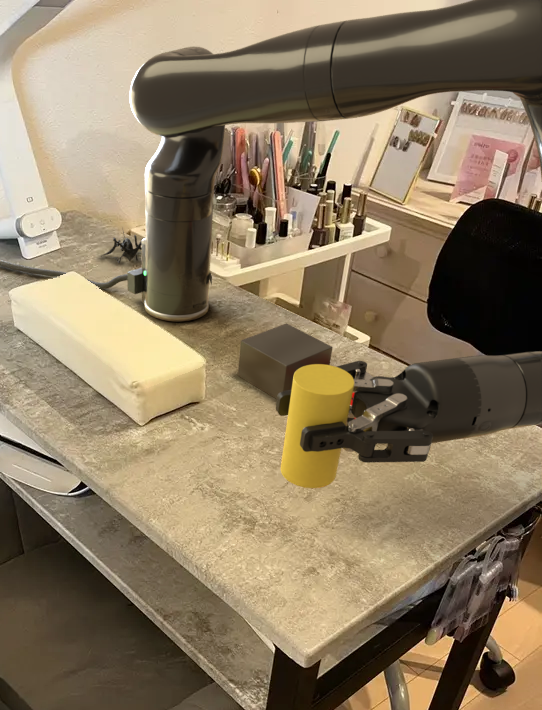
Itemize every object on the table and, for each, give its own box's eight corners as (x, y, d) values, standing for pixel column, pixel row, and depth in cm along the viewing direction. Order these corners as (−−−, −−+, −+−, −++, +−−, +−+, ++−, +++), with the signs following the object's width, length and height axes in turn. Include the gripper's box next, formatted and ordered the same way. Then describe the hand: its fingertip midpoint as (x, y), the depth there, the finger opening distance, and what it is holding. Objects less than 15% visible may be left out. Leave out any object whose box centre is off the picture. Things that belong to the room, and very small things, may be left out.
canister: (269, 468, 73) (281, 375, 66) (307, 449, 75) (322, 358, 69) (308, 495, 70) (325, 401, 63) (347, 474, 72) (367, 382, 66)
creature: (96, 260, 129) (110, 267, 123) (93, 227, 127) (107, 232, 120) (140, 254, 132) (156, 261, 125) (138, 222, 129) (154, 226, 123)
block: (237, 375, 98) (240, 340, 95) (282, 357, 102) (286, 323, 99) (281, 402, 93) (286, 365, 90) (327, 382, 97) (333, 346, 94)
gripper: (429, 327, 75) (265, 345, 71) (517, 404, 64) (329, 431, 60) (411, 393, 79) (257, 414, 76) (491, 476, 69) (316, 504, 65)
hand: (290, 421), depth 68 cm, fingers closed on canister, 5 cm apart
